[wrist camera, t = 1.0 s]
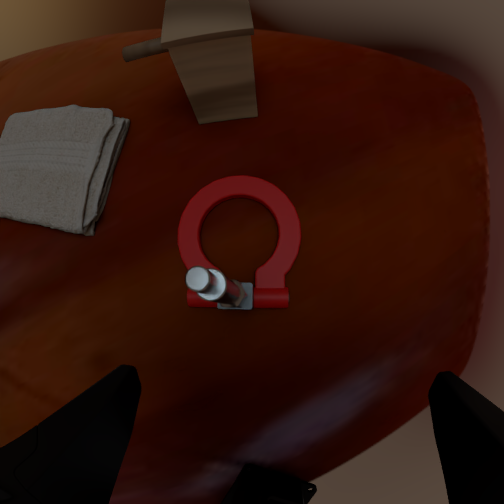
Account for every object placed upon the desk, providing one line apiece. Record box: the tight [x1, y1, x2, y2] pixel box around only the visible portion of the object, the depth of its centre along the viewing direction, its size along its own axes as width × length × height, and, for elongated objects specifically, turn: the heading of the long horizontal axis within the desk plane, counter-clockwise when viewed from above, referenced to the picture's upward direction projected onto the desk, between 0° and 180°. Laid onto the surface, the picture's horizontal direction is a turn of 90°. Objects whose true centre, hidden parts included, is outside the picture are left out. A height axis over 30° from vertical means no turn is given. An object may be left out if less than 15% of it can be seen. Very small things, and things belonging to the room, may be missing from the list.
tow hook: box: [178, 175, 301, 309], centre depth 17 cm, size 9×14×10 cm
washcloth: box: [0, 105, 130, 236], centre depth 25 cm, size 12×18×3 cm, turn 80°
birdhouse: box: [122, 0, 258, 124], centre depth 21 cm, size 5×9×11 cm, turn 96°
